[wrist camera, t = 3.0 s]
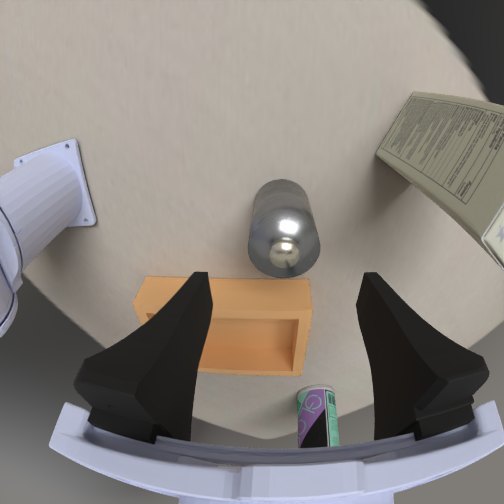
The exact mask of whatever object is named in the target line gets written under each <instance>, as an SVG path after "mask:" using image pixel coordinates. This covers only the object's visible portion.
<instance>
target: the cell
mask: <svg viewBox="0 0 504 504" xmlns="http://www.w3.org/2000/svg"><path fill="white" fill-rule="evenodd" d="M319 253H320V241H319V237H318V233H317V230H316V226H315V222H314V219H313V215H312V211H311V208H310V204H309V201H308V197H307V195H306V193H305V191H304V190H303V189H302V187H300V186H299V185H298V184H296V183H295V182H292V181H289V180H283V179H280V180H274V181H271V182H269V183H267V184H265V185H264V186H263V187H262V188H261V189H260V190H259V191H258V193H257V195H256V198H255V202H254V209H253V216H252V222H251V229H250V236H249V243H248V254H249V257H250V259H251V261H252V263H253V264H254V266H255V267H256V268H257V269H258V270H260V271H261V272H263V273H265V274H266V275H269V276H272V277H277V278H291V277H295V276H298V275H301V274H303V273H305V272H306V271H308V270H309V269H310V268H311V267H312V266H313V265H314V264H315V262H316V261H317V259H318V256H319Z"/></svg>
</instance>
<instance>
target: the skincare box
mask: <svg viewBox="0 0 504 504" xmlns="http://www.w3.org/2000/svg"><path fill="white" fill-rule="evenodd" d="M376 155H377V156H378V157H379V158H380V159H382V160H383V161H384V162H385V163H387V164H388V165H389V166H390V167H391V168H393V169H394V170H395V171H396V172H398V173H399V174H400V175H401V176H403V177H404V178H405V179H407V180H408V181H409V182H410V183H412V184H413V185H414V186H415V187H417V188H418V189H419V190H420V191H422V192H423V193H424V194H425V195H426V196H428V197H429V198H430V199H431V200H432V201H434V202H435V203H436V204H437V205H438V206H439V207H440V208H442V209H443V210H444V211H445V212H446V213H447V214H448V215H449V216H451V217H452V218H453V219H454V220H455V221H456V222H457V223H458V224H459V225H460V226H461V227H462V228H463V229H464V230H465V231H466V232H467V233H468V234H469V235H470V236H471V237H472V238H473V239H474V240H475V241H476V242H477V243H478V244H479V245H480V246H481V247H482V248H483V249H484V250H485V251H486V252H487V253H488V254H489V255H490V256H491V257H492V258H493V260H494V261H495V262H496V263H497V264H498V265H499V266H500V267H501V268H502V270H503V271H504V106H502V105H498V104H494V103H490V102H485V101H480V100H475V99H470V98H465V97H458V96H452V95H445V94H437V93H427V92H418V91H415V92H413V94H412V95H411V97H410V98H409V100H408V102H407V103H406V105H405V106H404V108H403V109H402V111H401V113H400V114H399V116H398V117H397V119H396V121H395V122H394V124H393V126H392V127H391V129H390V131H389V132H388V134H387V135H386V137H385V139H384V140H383V142H382V144H381V146H380V147H379V149H378V150H377V152H376Z"/></svg>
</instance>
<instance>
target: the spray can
mask: <svg viewBox="0 0 504 504" xmlns="http://www.w3.org/2000/svg"><path fill="white" fill-rule="evenodd" d="M297 402H298V448H318V447H331V446H339V437H338V424H337V413H336V403H335V394H334V389H333V388H332V387H330V386H327V385H313V386H309V387H306V388H303V389H301V390H300V391H299V392H298V396H297Z"/></svg>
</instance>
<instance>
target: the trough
mask: <svg viewBox="0 0 504 504" xmlns="http://www.w3.org/2000/svg"><path fill="white" fill-rule="evenodd" d="M188 279H189V278H180V277H151V276H147V277H146V279H145V281H144V283H143V285H142V287H141V288H140V290H139V292H138V294H137V296H136V298H135V300H134V302H133V306H134V309H135V311H136V313H137V316H138V318H139V320H140V322H141V324H142V325H143V324H145V323H146V322H147V321H148V320H149V319H151V318H152V317H153V316H154V315H155V314H156V313H157V312H158V311H159V310H160V309H161V308H162V307H163V306H164V305H165V304H166V303H167V302H168V301H169V300H170V299H171V298H172V297H173V296H174V295H175V293H176V292H177V291H178V290H179V289H180V288H181V287H182V286H183V284H184V283H185V282H186V281H187V280H188ZM209 283H210V289H211V295H212V300H213V310H212V317H211V323H210V327H209V330H208V334H207V338H206V341H205V345H204V348H203V352H202V355H201V359H200V363H199V367H198V372H206V373H218V374H233V375H255V376H301V375H302V370H303V365H304V360H305V354H306V349H307V343H308V338H309V332H310V326H311V320H312V313H313V307H312V299H311V292H310V285H309V279H218V278H209Z"/></svg>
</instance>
